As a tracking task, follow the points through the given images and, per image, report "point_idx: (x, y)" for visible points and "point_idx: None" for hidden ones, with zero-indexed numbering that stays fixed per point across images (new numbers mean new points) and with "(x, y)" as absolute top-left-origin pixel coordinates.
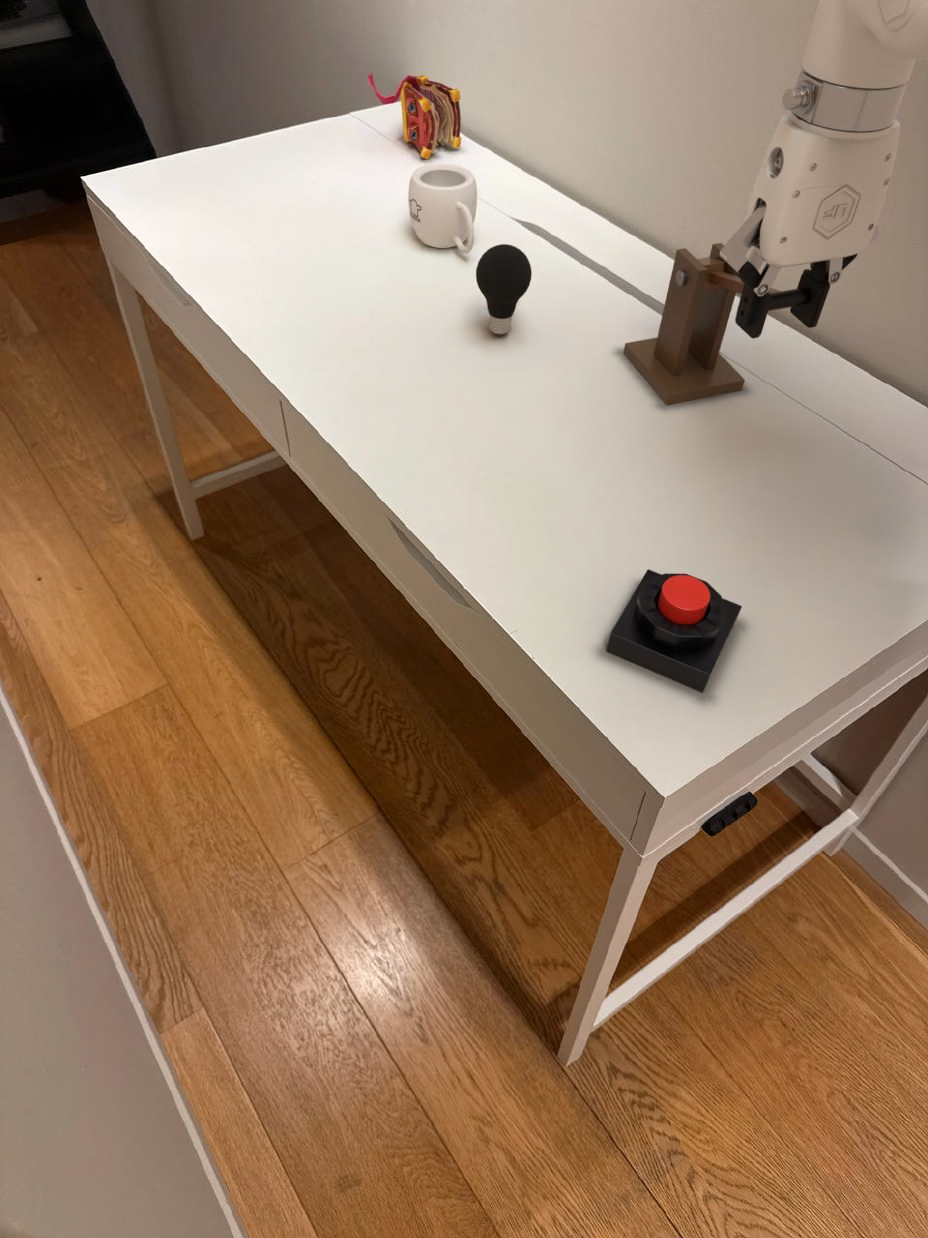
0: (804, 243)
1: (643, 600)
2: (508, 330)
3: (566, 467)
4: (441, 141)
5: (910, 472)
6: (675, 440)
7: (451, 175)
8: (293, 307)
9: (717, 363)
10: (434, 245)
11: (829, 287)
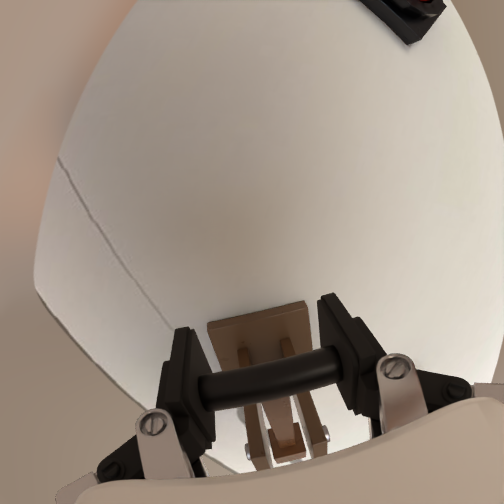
0: (434, 500)
1: (441, 1)
2: None
3: (428, 208)
4: None
5: (61, 167)
6: (318, 239)
7: None
8: (472, 377)
9: (230, 356)
10: None
11: (166, 399)
